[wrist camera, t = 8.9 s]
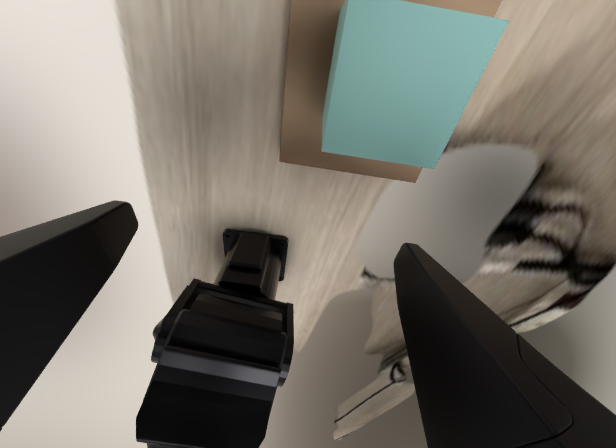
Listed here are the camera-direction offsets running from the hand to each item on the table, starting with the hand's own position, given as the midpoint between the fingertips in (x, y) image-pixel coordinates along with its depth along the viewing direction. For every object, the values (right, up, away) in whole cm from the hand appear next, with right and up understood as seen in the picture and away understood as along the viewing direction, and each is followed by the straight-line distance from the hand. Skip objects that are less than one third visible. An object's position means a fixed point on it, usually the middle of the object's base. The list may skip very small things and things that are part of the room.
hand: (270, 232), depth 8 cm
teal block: (+5, +9, +6) cm, 11 cm away
